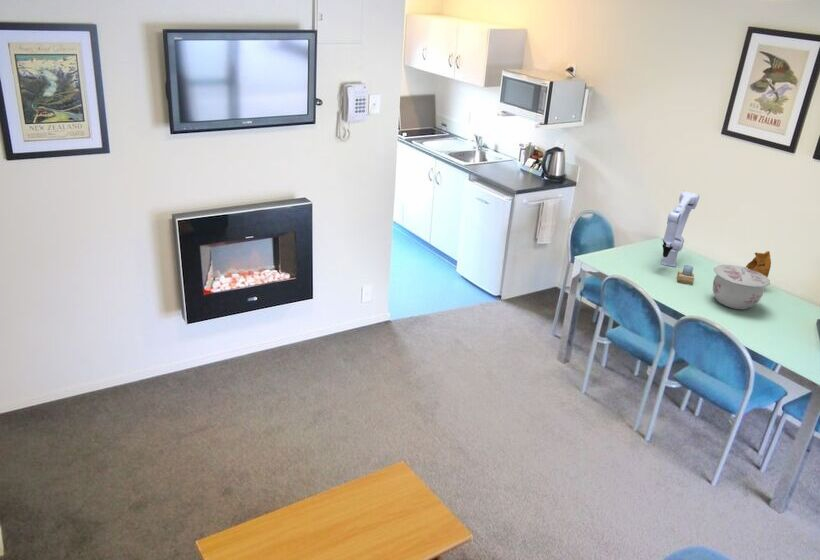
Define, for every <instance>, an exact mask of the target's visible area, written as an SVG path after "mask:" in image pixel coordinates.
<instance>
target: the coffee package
mask: <svg viewBox="0 0 820 560" xmlns="http://www.w3.org/2000/svg"><path fill="white" fill-rule="evenodd" d="M754 255H755V256H754V258H753V259H752V260H751V261H750V262H748V263H747V264H746V265H745V267H748V268H749V269H752V270H755V271H757V272H759V273H761V274H763V275H765V276H766V277H767V278H769V276H770V275H769V274H770V271H771V267H772V266H771V265H772V259H771V253H770V251H769V250H767V251H765V252H764V253H762V252H755V253H754Z"/></svg>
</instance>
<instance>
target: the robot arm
mask: <svg viewBox="0 0 820 560" xmlns="http://www.w3.org/2000/svg"><path fill="white" fill-rule="evenodd" d="M678 199H679V200H678V201H679V203H678V204H677V205H675V207H674V208H673V210H672V211H670V212H669V214H668V216H667V222H666V228H665V232H664V237H661V238H660V239H661V241H662V242H663V244H662V257H663V258H661V265H665V266H668V267H672V268H673V267H675V268H676V265H677V264H676V263H677V258H678V255H679V252H681V251H682V249H683V247H684V244H685V243H684V242H685V239H684V237H683V236H682V234H683V231H684V229H685V227H686V223H687V221H688V219H689V216H690V213H691V211H692V210H695V209H696V207H697V206H698V203H699V200H700V195H699V193H693V192H689V191H685V190H683V191H682V190H681V192H680V194H679V198H678Z"/></svg>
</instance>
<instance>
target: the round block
mask: <svg viewBox="0 0 820 560" xmlns="http://www.w3.org/2000/svg"><path fill="white" fill-rule="evenodd" d="M682 271H683V272H682V274H683V275H686V276H691V275H692V273H694V267H693V266H692V265H689V264H685V265H683V269H682Z"/></svg>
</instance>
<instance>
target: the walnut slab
mask: <svg viewBox="0 0 820 560" xmlns="http://www.w3.org/2000/svg"><path fill="white" fill-rule="evenodd" d="M676 283H679V284H683V285H689V286H693V283H694V282H689V281H684V280H679V279H678V274H677V277H676Z"/></svg>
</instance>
